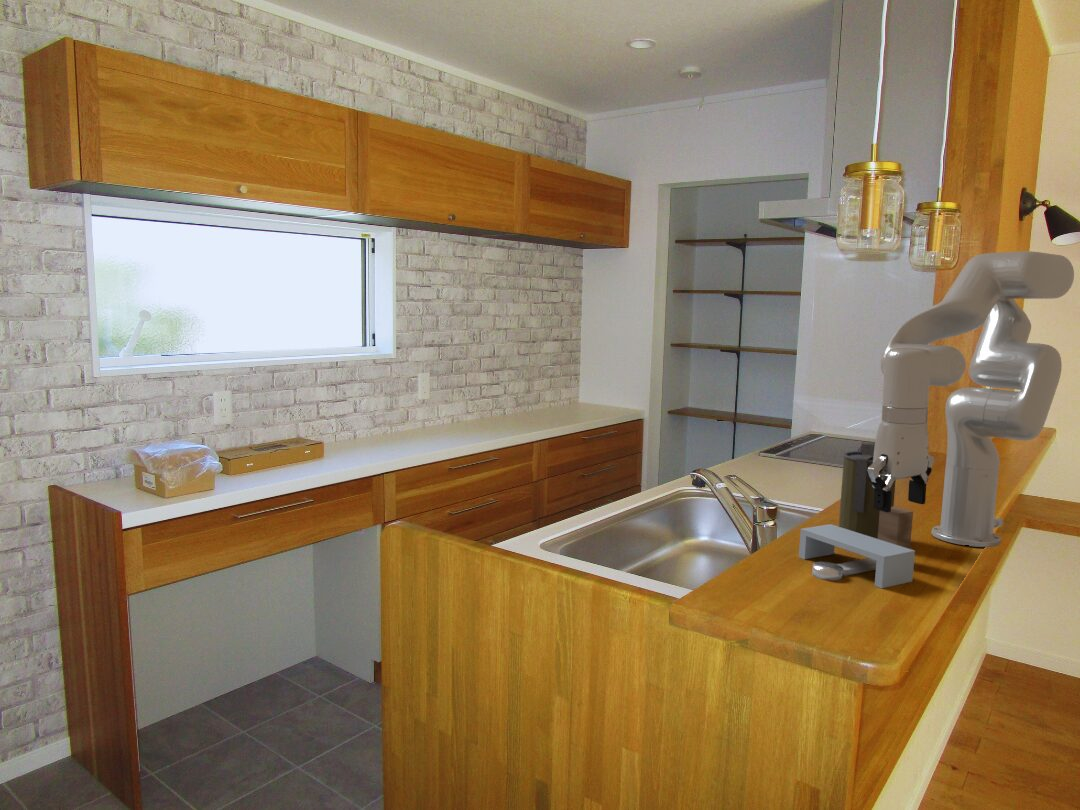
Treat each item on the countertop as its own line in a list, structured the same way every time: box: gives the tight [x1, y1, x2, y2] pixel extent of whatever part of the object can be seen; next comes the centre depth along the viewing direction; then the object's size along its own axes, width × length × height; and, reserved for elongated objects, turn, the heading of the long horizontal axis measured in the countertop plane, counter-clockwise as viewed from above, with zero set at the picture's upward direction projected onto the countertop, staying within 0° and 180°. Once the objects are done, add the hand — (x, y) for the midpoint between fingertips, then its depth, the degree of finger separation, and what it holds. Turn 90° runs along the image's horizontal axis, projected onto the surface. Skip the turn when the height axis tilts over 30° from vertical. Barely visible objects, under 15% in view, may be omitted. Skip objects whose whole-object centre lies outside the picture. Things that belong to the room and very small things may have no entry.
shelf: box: [798, 523, 916, 589], centre depth 136 cm, size 8×18×6 cm, turn 28°
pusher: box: [836, 505, 914, 577], centre depth 137 cm, size 16×4×10 cm, turn 118°
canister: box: [838, 441, 896, 539], centre depth 154 cm, size 11×10×20 cm
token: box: [811, 561, 844, 582], centre depth 132 cm, size 5×5×2 cm
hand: (899, 506), depth 140 cm, fingers open, 9 cm apart
